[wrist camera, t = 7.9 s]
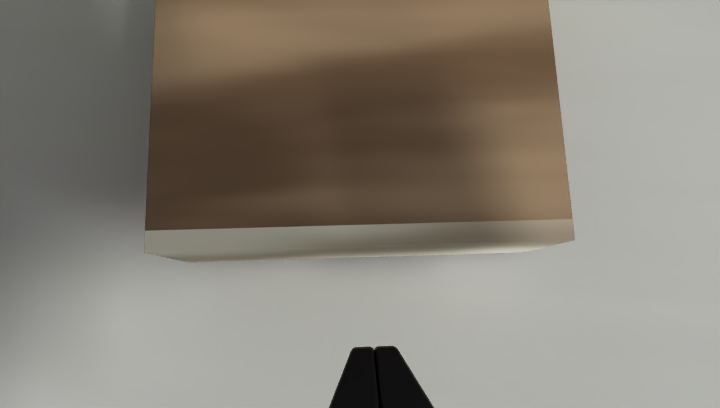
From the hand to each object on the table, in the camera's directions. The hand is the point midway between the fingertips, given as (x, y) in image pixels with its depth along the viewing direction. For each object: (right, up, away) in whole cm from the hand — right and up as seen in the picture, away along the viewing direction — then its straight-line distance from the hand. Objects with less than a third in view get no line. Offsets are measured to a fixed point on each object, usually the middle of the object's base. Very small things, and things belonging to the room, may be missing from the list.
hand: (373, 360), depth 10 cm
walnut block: (0, +1, +6) cm, 6 cm away
